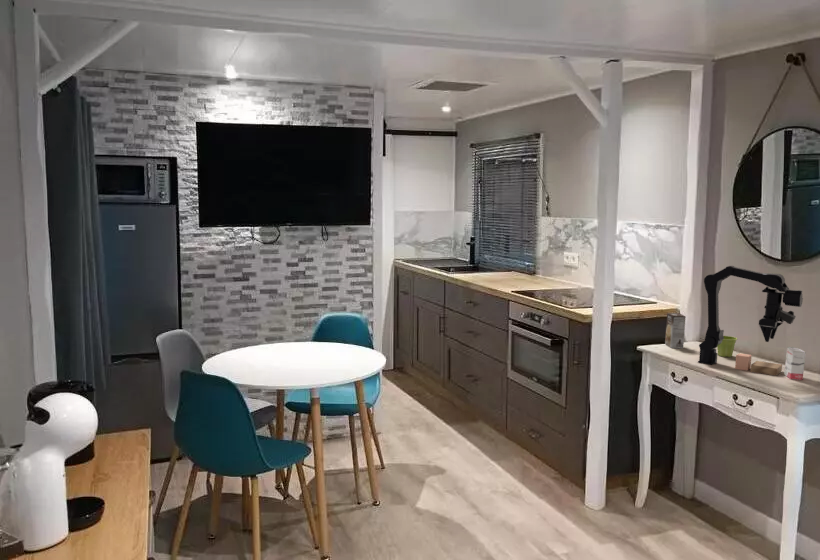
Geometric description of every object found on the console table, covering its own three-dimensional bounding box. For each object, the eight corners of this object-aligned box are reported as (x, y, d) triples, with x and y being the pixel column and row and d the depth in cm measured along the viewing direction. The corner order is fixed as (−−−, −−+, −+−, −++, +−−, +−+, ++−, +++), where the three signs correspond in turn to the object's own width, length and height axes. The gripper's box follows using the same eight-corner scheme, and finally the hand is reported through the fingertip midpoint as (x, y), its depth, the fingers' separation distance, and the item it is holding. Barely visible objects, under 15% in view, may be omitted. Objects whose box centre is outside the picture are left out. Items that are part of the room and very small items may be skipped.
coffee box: (664, 344, 355) (666, 312, 353) (677, 344, 355) (679, 313, 353) (670, 348, 346) (673, 315, 344) (684, 348, 346) (686, 316, 344)
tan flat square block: (750, 371, 300) (751, 364, 300) (756, 367, 308) (756, 360, 308) (776, 375, 294) (777, 368, 294) (781, 371, 302) (782, 364, 302)
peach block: (735, 368, 305) (736, 355, 305) (738, 366, 309) (739, 353, 309) (747, 370, 302) (748, 356, 302) (750, 368, 306) (751, 355, 306)
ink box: (803, 380, 287) (806, 351, 286) (790, 379, 288) (792, 350, 287) (796, 375, 296) (799, 347, 294) (783, 374, 297) (786, 346, 295)
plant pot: (730, 359, 324) (731, 340, 324) (710, 355, 332) (711, 337, 331) (739, 356, 331) (740, 338, 330) (719, 352, 338) (720, 334, 337)
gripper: (790, 308, 285) (786, 346, 287) (799, 304, 300) (795, 340, 302) (760, 305, 292) (756, 342, 294) (770, 300, 306) (766, 336, 308)
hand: (769, 340), depth 299 cm, fingers open, 9 cm apart
